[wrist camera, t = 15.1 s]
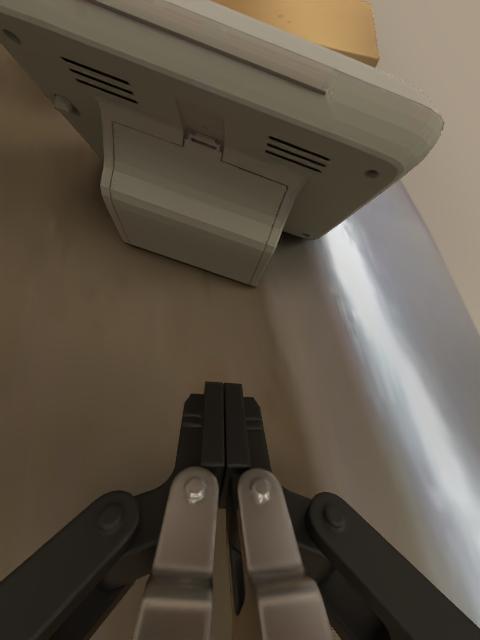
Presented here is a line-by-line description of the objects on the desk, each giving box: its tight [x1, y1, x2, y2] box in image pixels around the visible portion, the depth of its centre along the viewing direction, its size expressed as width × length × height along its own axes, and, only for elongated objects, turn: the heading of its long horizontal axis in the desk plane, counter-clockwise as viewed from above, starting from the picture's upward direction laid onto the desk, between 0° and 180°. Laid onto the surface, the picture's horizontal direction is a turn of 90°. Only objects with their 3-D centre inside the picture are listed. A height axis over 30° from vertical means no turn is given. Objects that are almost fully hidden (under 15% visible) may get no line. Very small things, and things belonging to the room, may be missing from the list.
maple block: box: [210, 0, 380, 68], centre depth 17 cm, size 16×5×7 cm, turn 87°
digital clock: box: [0, 0, 444, 287], centre depth 13 cm, size 16×9×11 cm, turn 62°
